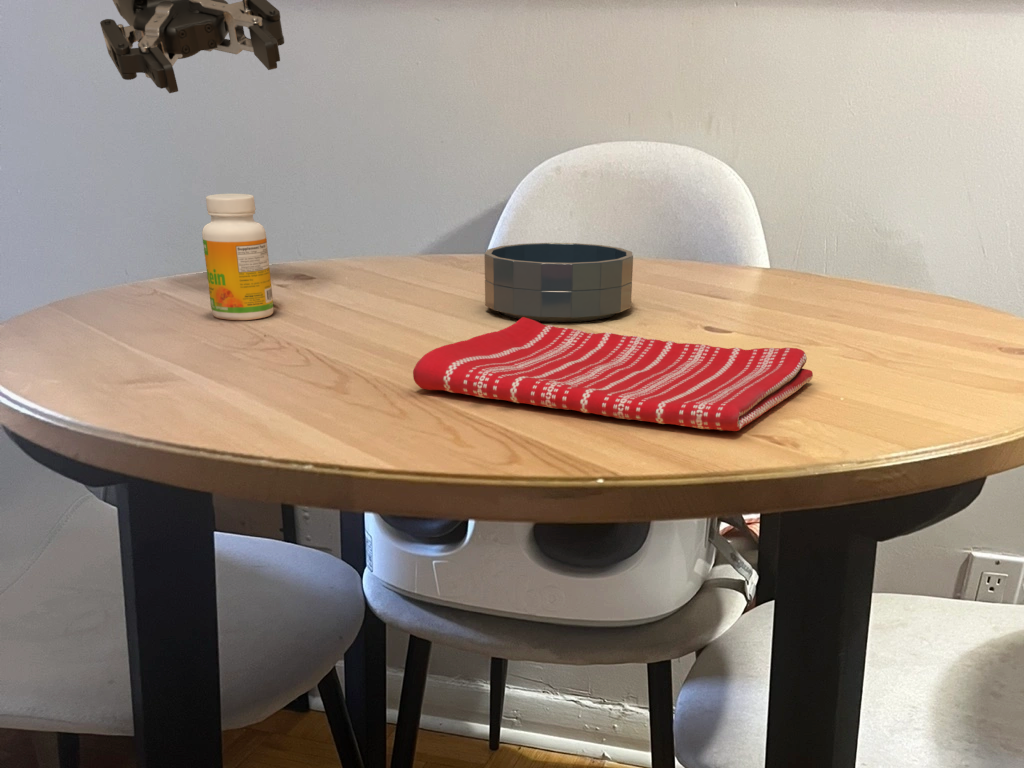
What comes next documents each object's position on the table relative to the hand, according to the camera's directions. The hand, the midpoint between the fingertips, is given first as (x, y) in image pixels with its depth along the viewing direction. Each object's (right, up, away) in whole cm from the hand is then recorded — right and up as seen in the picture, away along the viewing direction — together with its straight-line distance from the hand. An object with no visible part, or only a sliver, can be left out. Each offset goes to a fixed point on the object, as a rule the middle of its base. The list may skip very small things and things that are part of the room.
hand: (222, 68), depth 94 cm
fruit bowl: (+27, -15, +12) cm, 34 cm away
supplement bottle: (-1, -17, +9) cm, 19 cm away
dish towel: (+31, -30, -13) cm, 45 cm away
